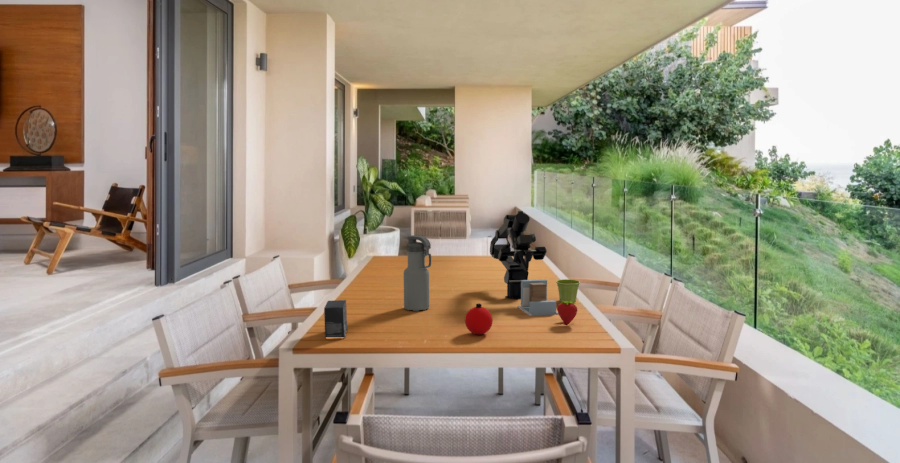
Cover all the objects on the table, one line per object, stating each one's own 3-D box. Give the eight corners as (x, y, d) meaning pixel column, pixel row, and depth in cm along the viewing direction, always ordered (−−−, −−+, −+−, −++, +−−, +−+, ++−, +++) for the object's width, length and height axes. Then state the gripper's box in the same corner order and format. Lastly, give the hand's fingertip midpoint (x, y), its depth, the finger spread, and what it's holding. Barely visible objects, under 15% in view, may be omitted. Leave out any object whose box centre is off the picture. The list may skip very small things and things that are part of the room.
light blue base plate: (517, 309, 234) (517, 305, 234) (545, 307, 236) (545, 304, 236) (529, 317, 221) (529, 314, 220) (559, 316, 223) (559, 312, 223)
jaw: (520, 306, 233) (521, 280, 232) (544, 305, 235) (545, 279, 234) (522, 307, 231) (523, 281, 229) (547, 306, 232) (547, 280, 231)
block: (529, 309, 230) (529, 283, 229) (542, 308, 231) (542, 282, 230) (533, 311, 226) (533, 285, 225) (545, 311, 227) (546, 284, 226)
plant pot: (579, 306, 239) (580, 284, 238) (555, 305, 241) (555, 283, 240) (579, 300, 248) (580, 279, 247) (556, 300, 250) (556, 279, 249)
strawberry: (564, 321, 215) (564, 293, 214) (581, 325, 210) (581, 296, 209) (552, 324, 212) (553, 295, 211) (569, 328, 206) (570, 299, 205)
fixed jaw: (528, 313, 224) (528, 301, 223) (553, 312, 226) (553, 300, 225) (530, 315, 222) (530, 302, 221) (556, 313, 223) (556, 301, 223)
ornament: (494, 337, 195) (494, 306, 194) (466, 338, 195) (466, 307, 194) (490, 330, 204) (490, 300, 203) (463, 330, 204) (463, 301, 203)
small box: (327, 331, 204) (327, 300, 203) (347, 330, 205) (347, 299, 204) (324, 339, 194) (323, 307, 193) (345, 339, 194) (344, 306, 193)
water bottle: (434, 307, 238) (434, 235, 235) (423, 312, 229) (422, 238, 227) (411, 304, 243) (410, 234, 240) (399, 310, 234) (398, 236, 231)
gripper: (500, 227, 241) (508, 259, 232) (545, 226, 245) (555, 257, 235) (494, 244, 250) (502, 276, 240) (538, 243, 254) (547, 274, 244)
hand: (526, 270), depth 240 cm, fingers closed
